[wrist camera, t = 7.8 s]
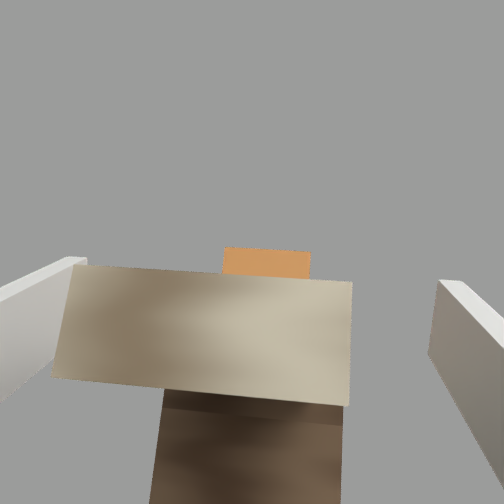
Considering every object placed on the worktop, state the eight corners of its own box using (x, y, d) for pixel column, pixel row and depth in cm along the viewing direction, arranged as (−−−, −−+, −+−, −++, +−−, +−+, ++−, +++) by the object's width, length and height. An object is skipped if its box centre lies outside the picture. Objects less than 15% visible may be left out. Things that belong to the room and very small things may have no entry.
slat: (50, 377, 7) (73, 264, 8) (229, 378, 28) (232, 346, 28) (348, 406, 7) (352, 282, 7) (308, 386, 27) (310, 352, 27)
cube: (215, 332, 19) (224, 246, 20) (228, 340, 23) (236, 267, 24) (306, 340, 19) (310, 251, 20) (304, 346, 23) (308, 272, 24)
